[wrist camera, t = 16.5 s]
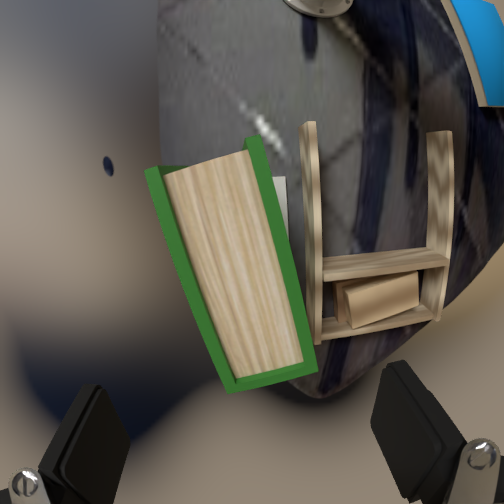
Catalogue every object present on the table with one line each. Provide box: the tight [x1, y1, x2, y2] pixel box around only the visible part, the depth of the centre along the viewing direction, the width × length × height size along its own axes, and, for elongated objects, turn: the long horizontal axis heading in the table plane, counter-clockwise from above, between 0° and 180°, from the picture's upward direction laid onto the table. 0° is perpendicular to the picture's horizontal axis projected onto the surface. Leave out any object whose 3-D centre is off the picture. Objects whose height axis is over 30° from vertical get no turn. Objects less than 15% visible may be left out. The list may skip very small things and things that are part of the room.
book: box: [441, 0, 504, 107], centre depth 34 cm, size 17×4×25 cm
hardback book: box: [144, 134, 318, 394], centre depth 31 cm, size 18×7×24 cm, turn 15°
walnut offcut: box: [332, 275, 378, 323], centre depth 46 cm, size 7×14×3 cm, turn 100°
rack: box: [298, 121, 454, 345], centre depth 41 cm, size 31×23×7 cm
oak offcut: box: [342, 270, 419, 329], centre depth 43 cm, size 6×12×3 cm, turn 105°
